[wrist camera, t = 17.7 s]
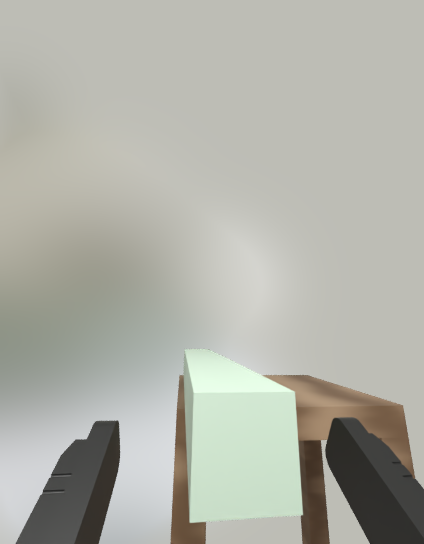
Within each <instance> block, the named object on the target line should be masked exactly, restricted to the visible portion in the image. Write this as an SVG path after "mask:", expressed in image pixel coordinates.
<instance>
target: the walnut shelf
mask: <svg viewBox="0 0 424 544" xmlns="http://www.w3.org/2000/svg"><path fill="white" fill-rule="evenodd" d="M262 376H264V377H266V378H268V379H270V380H272V381H274V382H276V383H278V384H280V385H282V386H284V387H286V388H288V389H290V390H292V391H294V392H295V400H296V416H297V431H298V446H299V462H300V477H301V493H302V508H303V515H301V525H302V541H303V544H330V542H329V531H328V520H327V507H326V495H325V484H324V473H323V461H322V449H321V440H328V435H329V431H330V427H331V423H332V420H333V419H334V418H338V417H354V418H356V419H358V420H359V421H360V423H361V424H362V425H363V426H364V428H365V429H366V430H367V431H368V433H373V434H374V435H375V436H377V437H378V438H379V439H380V440H382V441H383V442H384V443H385V444H386V445H388V446H389V447H390V449H391V450H392V451H393V452H394V454H395V455H396V456H397V457H398V458H399V460H400V461H401V463H402V465H404V466H405V467H406V468H407V469H408V470H409V472H410V473H411V474H412V477H413V478H414V479H415V475H414V469H413V463H412V457H411V451H410V445H409V439H408V433H407V427H406V421H405V415H404V409H403V405H400V404H397V403H393V402H390V401H387V400H384V399H381V398H378V397H375V396H371V395H368V394H365V393H362V392H359V391H355V390H352V389H349V388H346V387H343V386H339V385H336V384H333V383H330V382H327V381H324V380H321V379H317V378H314V377H311V376H308V375H262ZM175 441H176V442H175V462H174V483H173V504H172V527H171V544H205V541H206V539H205V538H206V537H205V536H206V522H195V523H190V520H189V496H188V472H187V448H186V424H185V399H184V375H180V377H179V390H178V402H177V420H176V440H175Z"/></svg>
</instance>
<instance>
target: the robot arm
mask: <svg viewBox="0 0 424 544" xmlns="http://www.w3.org/2000/svg"><path fill="white" fill-rule="evenodd" d="M325 451H326V458H327V462H328V465H329V467H330V469H331V471H332V473H333V475H334V477H335V479H336V481H337V483H338V484H339V486H340V488H341V490H342V492H343V494H344V496H345V498H346V499H347V501H348V503H349V505H350V507H351V509H352V511H353V513H354V514H355V516H356V518H357V520H358V522H359V524H360V526H361V527H362V529H363V531H364V533H365V535H366V537H367V539H368V541H369V543H370V544H424V489H423V488H422V486H421V485H420V484H419V483H418V481H417V480H416V479H414V478H413V477H412V474H411V473H410V472H409V470H408V469H407V468H406V467H405V466H404V465H402V463H401V461H400V460H399V458H398V457H397V456H396V455H395V454H394V452H393V451H392V450H391V449H390V447H389V446H388V445H386V444H385V443H384V442H383V441H382V440H380V439H379V438H378V437H377V436H375V435H374V434H373V433H368V431H367V430H366V429H365V428H364V426H363V425H362V424H361V423H360V421H359V420H358V419H356V418H354V417H338V418H334V419H333V420H332V423H331V427H330V431H329V435H328V440H327V444H326V449H325ZM119 461H120V438H119V422H118V421H96V422H95V423H94V425H93V427H92V429H91V431H90V434H89V436H88V438H87V439H86V440H75V441H74V442H73V443H72V444H71V445H70V446H69V447H68V448H67V449H66V451H65V452H64V453H63V454H62V455H61V457H60V459H59V461H58V462H57V465H56V466H55V468H54V470H53V472H52V474H51V478H49V480H48V482H47V484H46V486H45V488H44V490H43V493H42V495H40V498H39V500H38V501H37V503H36V505H35V507H34V509H33V511H32V513H31V515H30V517H29V519H28V521H27V523H26V525H25V526H24V529H23V530H22V532H21V534H20V537H19V538H18V540H17V542H16V544H99V540H100V536H101V533H102V529H103V525H104V521H105V518H106V514H107V510H108V506H109V503H110V499H111V495H112V491H113V488H114V484H115V481H116V477H117V473H118V467H119Z"/></svg>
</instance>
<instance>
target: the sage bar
mask: <svg viewBox="0 0 424 544" xmlns="http://www.w3.org/2000/svg"><path fill="white" fill-rule="evenodd" d="M184 399H185V424H186V448H187V472H188V496H189V520H190V523H195V522H208V521H209V522H210V521H224V520H239V519H254V518H269V517H284V516H297V515H303V508H302V493H301V477H300V462H299V446H298V431H297V416H296V400H295V392H294V391H292V390H290V389H288V388H286V387H284V386H282V385H280V384H278V383H276V382H274V381H272V380H270V379H268V378H266V377H264V376H262V375H260V374H258V373H256V372H254V371H252V370H250V369H248V368H246V367H244V366H242V365H240V364H238V363H236V362H233V361H232V360H229V359H227V358H225V357H223V356H221V355H219V354H217V353H215V352H213V351H211V350H209V349H185V354H184Z"/></svg>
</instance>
